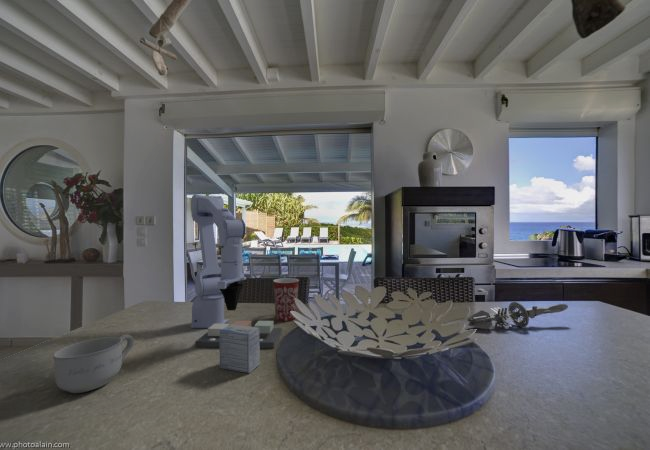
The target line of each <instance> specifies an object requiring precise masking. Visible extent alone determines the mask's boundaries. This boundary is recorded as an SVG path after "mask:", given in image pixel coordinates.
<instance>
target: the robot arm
mask: <svg viewBox="0 0 650 450" xmlns="http://www.w3.org/2000/svg"><path fill="white" fill-rule="evenodd" d="M224 206H225V202H224V198H223V197H222V196H220V195H218V196H215V195H201V194H193V195H192V197H191V198H190V212H191V213H190V214H191V217H192V221H193V222H195V223H197V226H198V227H197V228H198V234H199V242H200V250H201V259H202V270H200V271H199V272H198V273H197V274H196V276H195V278H194V281H195V284H194V290H195V292H194V293H195V295H196V298H194V299H193V301H192V305H191V325H190V329H191V328H193V329H197V328H198V329H202V328H203V329H208V328H209V327H211V326H212V325H213V324H227V322H228V321H230V320H229V318H225V307H226V310H227V311H235V310H236V309H237V306H238V302H239V299H240V298H239V297H240V294H241V292H242V289H243V287H244V283H243V282H240V281H244V280H247V277H246V276H245V274H244V273H243V240H244V239H245V237H246V234H247V233H246V232H247V231H246V230H247V229H246V228H247V227H246V223H245V221H244V219H242V218H240V219H238V218H237V219H236V217H235V216H234V214H233V213H232V212H231V211H230V210H229V208H228V207H224ZM214 224H215V226H216V228H217V236H218V240H219V241H218V242H219V246H220V259H221V260H220V266H219V261H218V260H219V259H218V254H217V246H216V245H217V244H216V237H215V232H214V231H215V230H214Z"/></svg>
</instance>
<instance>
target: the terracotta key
mask: <svg viewBox="0 0 650 450" xmlns="http://www.w3.org/2000/svg"><path fill="white" fill-rule="evenodd" d="M231 325H241V326H249V327H252V320H235V321H234V322H233V323H231Z"/></svg>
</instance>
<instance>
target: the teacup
mask: <svg viewBox="0 0 650 450" xmlns="http://www.w3.org/2000/svg"><path fill="white" fill-rule="evenodd" d="M125 340H126V346H125V347H124V348H123V344H122V343H123V342H124V341H125ZM134 342H135V341H134V338H133V336H132V335H130V334H122V335H120V336H119V337H118V336H102V337H96V338H92V339H88V340H87V339H86V340H83V341H79V342H76V343H72V344H70V345H67V346H65V347H63V348H59V349H58V350H57V351H55V352H54V353H53V355H52V358H53V361H54V362H53V364H54V365H53V367H54V379H55V384H56V386H57V387H58V388H59V389H60V390H63V391H66V392H68V393H72V394H81V393H86V392H90V391H94V390H96V389H99V388H101V387H104V386H105V385H106V384H108V383H109V382H111V380H113V378H114V377H115V376H116V375H117V374H118V373H119V371H121V368H122V366H123V365H122V364H123V359H124V358H125V357H126V356H127V355H128V353H130V351H131V350H132V348H133V346H134Z"/></svg>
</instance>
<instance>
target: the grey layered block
mask: <svg viewBox="0 0 650 450" xmlns="http://www.w3.org/2000/svg"><path fill="white" fill-rule="evenodd" d="M260 350H261V348H260V345H259V328H257V327H254V326H251V327H249V326H241V325H232V324H229V326H227V327H225V328H223V329H222V330H220V348H219V368H220V369H223V370H228V371H229V370H230V371H235V372H241V373H246V374H251V373H252V372H253V371H254V370H256V368H257V367H258V366H260V363H261V351H260Z"/></svg>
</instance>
